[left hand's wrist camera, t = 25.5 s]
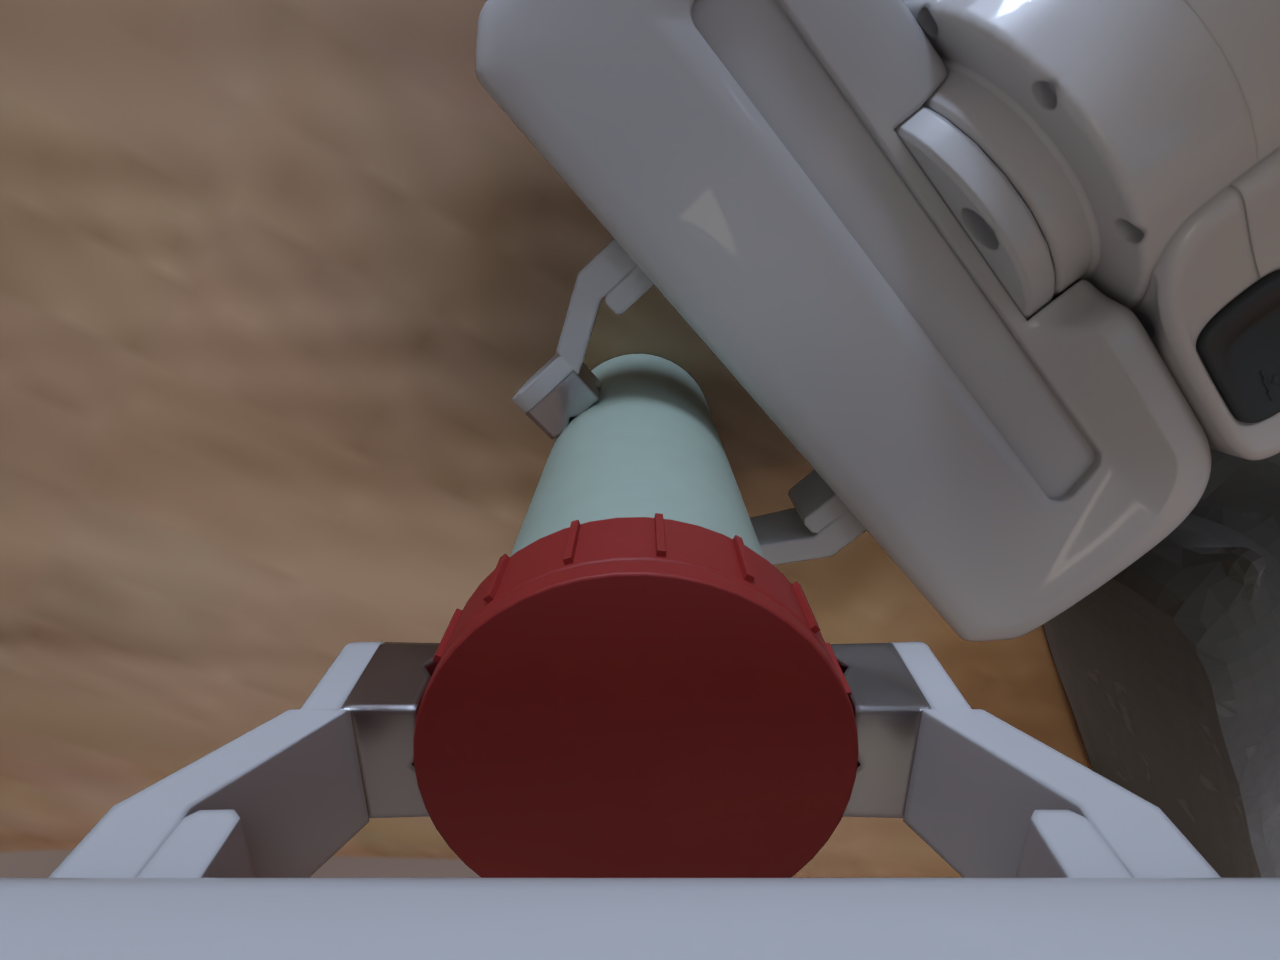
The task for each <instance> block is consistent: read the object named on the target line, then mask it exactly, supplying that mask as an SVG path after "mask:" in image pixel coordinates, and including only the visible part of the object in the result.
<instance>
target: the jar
mask: <svg viewBox="0 0 1280 960" xmlns="http://www.w3.org/2000/svg"><path fill="white" fill-rule="evenodd" d="M591 372H592V373H593V374H594V375H595V376H596V377H597V378H598V379H599V380H600V382H601V383H602V388H601V390H600V396H599V399H598V400H597V401H596V402H595V403H594V404H593V405H592V406H591V407H589V408H588V409H587V410H586V411H585V412H583V413H582V414H580V415H579V416H574V417H571V418H570V421H569V424H568V426H567V427H566V428H565V429H564V430H563V432H562V433H561V434H559V435H558V436H557V437H556V439H555V442H554V444H553V447H552V449H551V452H550V455H549V457H548V460H547V462H546V465H545V467H544V470H543V473H542V475H541V478H540V480H539V483H538V485H537V488H536V491H535V493H534V496H533V498H532V501H531V503H530V506H529V509H528V511H527V514H526V516H525V519H524V521H523V524H522V527H521V529H520V532H519V534H518V537H517V539H516V542H515V545H514V547H513V550H512V552H511V555H510V557H511V556H512V555H513V554H515V553H516V552H517V551H519V550H521V549H523V548H524V547H526V546H528V545H530V544H531V543H533V542H535V541H537V540H538V539H540V538H543V537H545V536H548V535H550V534H552V533H555V532H557V531H560V530H562V529H565V528H569V527H570V525H571V522H572V521H575V520H579V522H580V524H583V523H587V522H591V521H598V520H605V519H612V518H624V517H649V518H655V513H659V514H663V519H670V520H675V521H680V522H684V523H689V524H693V525H698V526H701V527H704V528H706V529H709V530H712V531H715V532H718V533H720V534H723V535H725V536H727V537H729V538H731V539H733V538H734V537H735V535H737V536H739V537H741V538H742V540H743V543H744V545H745V546H747V547H749V548H750V549H751V550H753V551H754V552H756V553H757V554H759V555H760V556H762V557H763V558H764V555H763V552H762V550H761V547H760V544H759V542H758V539H757V536H756V534H755V531H754V528H753V526H752V523H751V520H750V518H749V515H748V512H747V509H746V507H745V504H744V501H743V499H742V496H741V493H740V491H739V488H738V485H737V483H736V480H735V477H734V475H733V472H732V469H731V467H730V464H729V461H728V459H727V456H726V453H725V450H724V448H723V445H722V442H721V440H720V437H719V434H718V432H717V429H716V426H715V424H714V421H713V418H712V416H711V413H710V410H709V408H708V405H707V402H706V400H705V397H704V395H703V393H702V391H701V389H700V387H699V386H698V384H697V383H696V382H695V380H694V379H693V378H692V377H691V376H690V375H689V374H688V373H687V372H686V371H685V370H683V369H682V368H681V367H679V366H678V365H676V364H675V363H673V362H671V361H669V360H666V359H664V358H661V357H658V356H654V355H648V354H629V355H622V356H619V357H615V358H612V359H610V360H608V361H605V362H603V363H602V364H600V365H598V366H597V367H595V368H594V369H593V370H592V371H591Z"/></svg>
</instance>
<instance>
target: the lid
mask: <svg viewBox="0 0 1280 960" xmlns="http://www.w3.org/2000/svg"><path fill="white" fill-rule="evenodd" d="M432 660H433V661H435V662H437V663H438V664H437V666H436V668H435V670H434V673H433V675H432V677H431V679H430V681H429V683H428V685H427V688H426V690H425V692H424V695H423V698H422V701H421V704H420V707H419V710H418V713H417V718H416V725H415V731H414V737H413V751H414V767H415V773H416V778H417V784H418V788H419V791H420V794H421V797H422V799H423V802H424V805H425V808H426V810H427V812H428V814H429V816H430V818H431V820H432V821H433V823H434V825H435V827H436V829H437V830H438V832H439V833H440V835H441V836H442V837H443V839H444V840H445V841H446V843H447V844H448V846H449V847H450V848H451V849H452V850H453V851H454V852H455V854H456V855H457V856H458V857H459V858H460V859H461V860H462V861H463V862H464V863H465V864H466V865H467V866H468V867H469V868H471V869H472V870H473V871H474V872H475V873H477V874H478V875H479V876H480V877H481V878H791V877H792V876H794V875H795V874H796V873H797V872H798V871H799V870H800V869H802V868H803V867H804V866H805V865H806V864H807V863H808V862H809V861H810V860H811V859H812V858H813V857H814V856H815V855H816V854H817V853H818V851H819V850H820V849H821V848H822V847H823V845H824V844H825V843H826V842H827V841H828V839H829V838H830V836H831V835H832V833H833V831H834V830H835V828H836V827H837V825H838V824H839V822H840V820H841V818H842V816H843V814H844V811H845V809H846V807H847V805H848V802H849V800H850V797H851V793H852V790H853V786H854V782H855V779H856V773H857V764H858V754H859V749H858V732H857V725H856V721H855V717H854V712H853V708H852V704H851V702H850V699H849V693H851V690H850V688H849V685H848V683H847V681H846V679H845V677H844V674H843V672H842V670H841V668H840V666H839V663H838V661H837V659H836V657H835V654H834V652H833V650H832V648H831V646H830V643H825V642H824V639H823V637H822V635H821V633H820V628H819V626H818V624H817V621H816V619H815V617H814V615H813V612H812V610H811V608H810V606H809V603H808V601H807V599H806V597H805V594H804V592H803V590H802V588H801V586H800V585H799V583H798V582H795V583H794V584H791V583H790V582H789V580H788V579H787V578H786V577H785V576H784V575H783V574H782V573H781V572H780V571H779V570H777V569H776V568H775V567H774V566H773V565H772V564H771V563H770V562H769V561H767V560H766V559H765V558H763V557H762V556H760V555H759V554H757V553H756V552H754V551H753V550H751V549H750V548H749V547H747V546H745V545H744V543H743V540H742V538H741V537H739V536H737V535H735V537H734V538H733V539H731V538H729V537H727V536H725V535H723V534H720V533H718V532H715V531H712V530H709V529H706V528H704V527H701V526H698V525H693V524H689V523H684V522H680V521H675V520H670V519H663V514H659V513H655V518H649V517H624V518H612V519H605V520H598V521H591V522H587V523H583V524H580V522H579V520H575V521H572V522H571V525H570V527H569V528H565V529H562V530H560V531H557V532H555V533H552V534H550V535H548V536H545V537H543V538H540V539H538V540H537V541H535V542H533V543H531V544H530V545H528V546H526V547H524V548H523V549H521V550H519V551H517V552H516V553H515V554H513V555H512V556H511V557H508V556H507V555H506V554H504V555H503V556H502V557H500V559H499V562H498V564H497V567H496V569H495V570H494V571H493V572H492V573H491V574H490V575H489V576H488V577H487V578H486V579H485V580H484V581H483V582H482V583H481V584H480V585H479V587H478V588H477V589H476V591H475V592H474V593H473V595H472V596H471V598H470V599H469V600H468V602H467V603H466V605H465V607H464V609H463V611H462V610H460V609H456V611H455V613H454V615H453V617H452V619H451V621H450V623H449V626H448V628H447V630H446V632H445V634H444V636H443V638H442V640H441V642H440V645H439V647H438V649H437V651H436V653H435V655H434V657H433V659H432Z"/></svg>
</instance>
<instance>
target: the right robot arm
mask: <svg viewBox="0 0 1280 960" xmlns="http://www.w3.org/2000/svg"><path fill="white" fill-rule="evenodd" d="M475 72H476V76H477V79H478V81H479V82H480V84H481V85H482V86H483V87H484V88H485V90H486V91H487V92H488V93H489V94H490V95H491V97H492V98H493V99H494V100H495V101H496V102H497V104H498V105H499V106H500V107H501V108H502V109H503V111H504V112H505V113H506V114H507V115H508V116H509V117H510V119H511V120H512V121H513V122H514V123H515V124H516V126H517V127H518V128H519V129H520V130H521V131H522V132H523V134H524V135H525V136H526V137H527V138H528V139H529V141H530V142H531V143H532V144H533V145H534V146H535V147H536V149H537V150H538V151H539V152H540V153H541V154H542V156H543V157H544V158H545V159H546V160H547V161H548V162H549V164H550V165H551V166H552V167H553V168H554V169H555V171H556V172H557V173H558V174H559V175H560V176H561V178H562V179H563V180H564V181H565V182H566V183H567V184H568V186H569V187H570V188H571V189H572V190H573V191H574V193H575V194H576V195H577V196H578V197H579V198H580V199H581V201H582V202H583V203H584V204H585V205H586V206H587V208H588V209H589V210H590V211H591V212H592V213H593V214H594V216H595V217H596V218H597V219H598V220H599V221H600V223H601V224H602V225H603V226H604V227H605V228H606V229H607V231H608V232H609V233H610V234H611V235H612V236H613V238H614V239H613V240H612V241H611V242H610V243H609V244H608V245H607V246H606V247H605V248H604V249H603V250H602V251H601V252H600V253H599V254H598V255H597V256H596V257H595V258H594V259H593V260H592V261H591V262H589V263H588V264H587V265H586V266H585V267H584V268H583V269H582V270H581V271H580V272H579V273H578V275H577V279H576V282H575V286H574V290H573V293H572V297H571V300H570V304H569V307H568V311H567V314H566V318H565V322H564V325H563V329H562V332H561V336H560V339H559V343H558V346H557V350H556V352H557V353H556V354H555V355H554V356H553V357H552V358H551V359H550V360H549V361H548V362H547V363H546V364H544V365H543V366H542V367H541V368H540V369H539V370H538V371H537V372H536V373H535V374H534V375H533V376H532V377H531V378H530V379H529V380H528V381H527V382H526V383H525V384H524V385H523V386H522V387H521V388H520V389H519V390H518V392H517V393H516V394H515V396H514V397H513V398H512V401H513V402H514V403H515V404H516V405H517V406H518V407H519V408H520V410H521V411H522V412H523V413H525V414H526V415H527V416H528V417H529V418H530V419H531V420H532V421H533V422H534V423H535V424H536V425H537V426H538V427H539V428H540V429H542V430H543V431H544V432H545V433H546V434H547V435H548V436H549V437H550V438H551V439H554V438H555V437H557V436H558V435H559V434H561V433H562V432H563V430H564V429H565V428H566V427H567V426H568V424H569V421H570V418H571V417H574V416H579V415H580V414H582V413H583V412H585V411H586V410H587V409H588V408H589V407H591V406H592V405H593V404H594V403H595V402H596V401H597V400H598V399H599V396H600V390H601V388H602V383H601V382H600V380H599V379H598V378H597V377H596V376H595V375H594V374H593V373H592V372H591V370H590V369H589V368H588V367H587V366H586V365H585V364H584V363H583V361H584V357H585V354H586V351H587V347H588V344H589V341H590V338H591V334H592V331H593V328H594V324H595V321H596V318H597V315H598V311H599V308H600V305H601V301H602V298H603V297H604V296H605V303H606V304H607V305H608V306H609V307H610V309H611V310H612V311H613V312H614V313H615V314H622V313H623V312H625V311H626V310H627V309H628V308H629V307H630V306H631V305H632V304H633V303H635V302H636V301H637V300H638V299H639V298H640V297H641V296H642V295H643V294H645V293H646V292H647V291H648V290H649V289H650V288H651V287H652V286H653V285H655V286H656V287H657V288H658V289H659V291H660V292H661V293H662V294H663V295H664V296H665V298H666V299H667V300H668V301H669V302H670V303H671V304H672V306H673V307H674V308H675V309H676V310H677V311H678V313H679V314H680V315H681V316H682V317H683V318H684V320H685V321H686V322H687V323H688V324H689V325H690V326H691V328H692V329H693V330H694V331H695V332H696V333H697V335H698V336H699V337H700V338H701V339H702V340H703V341H704V343H705V344H706V345H707V346H708V347H709V348H710V350H711V351H712V352H713V353H714V354H715V355H716V356H717V358H718V359H719V360H720V361H721V362H722V363H723V365H724V366H725V367H726V368H727V369H728V370H729V371H730V373H731V374H732V375H733V376H734V377H735V378H736V380H737V381H738V382H739V383H740V384H741V385H742V386H743V388H744V389H745V390H746V391H747V392H748V393H749V395H750V396H751V397H752V398H753V399H754V400H755V401H756V403H757V404H758V405H759V406H760V407H761V408H762V410H763V411H764V412H765V413H766V414H767V415H768V416H769V418H770V419H771V420H772V421H773V422H774V423H775V425H776V426H777V427H778V428H779V429H780V430H781V431H782V433H783V434H784V435H785V436H786V437H787V438H788V440H789V441H790V442H791V443H792V444H793V445H794V446H795V448H796V449H797V450H798V451H799V452H800V453H801V455H802V456H803V457H804V458H805V459H806V460H807V462H808V463H809V464H810V465H811V466H812V467H813V468H814V470H813V471H812V472H811V473H810V474H808V475H807V476H806V477H805V478H804V479H802V480H801V481H800V482H799V483H797V484H796V485H795V486H794V487H792V488H791V489H790V490H789V493H788V496H789V497H790V499H791V501H792V503H793V505H794V506H795V508H792V509H787V510H783V511H779V512H774V513H770V514H765V515H761V516H757V517H752V518H750V520H751V523H752V526H753V528H754V531H755V534H756V536H757V539H758V542H759V544H760V547H761V550H762V552H763V555H764V558H765V559H766V560H767V561H769V562H770V563H771V564H772V565H778V564H784V563H791V562H797V561H804V560H810V559H817V558H823V557H830V556H832V555H834V554H835V553H836V552H838V551H839V550H840V549H842V548H843V547H845V546H846V545H847V544H849V543H850V542H851V541H853V540H854V539H855V538H857V537H858V536H859V535H861V534H862V533H863V532H865V531H866V530H867V531H868V532H869V533H870V534H871V535H872V537H873V538H874V539H875V540H876V541H877V542H878V543H879V545H880V546H881V547H882V548H883V549H884V550H885V552H886V553H887V554H888V555H889V556H890V557H891V558H892V560H893V561H894V562H895V563H896V564H897V565H898V567H899V568H900V569H901V570H902V571H903V572H904V573H905V575H906V576H907V577H908V578H909V579H910V580H911V582H912V583H913V584H914V585H915V586H916V587H917V588H918V590H919V591H920V592H921V593H922V594H923V595H924V597H925V598H926V599H927V600H928V601H929V602H930V604H931V605H932V606H933V607H934V608H935V609H936V610H937V612H938V613H939V614H940V615H941V616H942V617H943V618H944V620H945V621H946V622H947V623H948V624H949V625H950V627H951V628H952V629H953V630H954V631H955V632H956V633H957V635H958V636H959V637H961V638H962V639H964V640H966V641H993V640H1006V639H1013V638H1017V637H1020V636H1022V635H1025V634H1027V633H1029V632H1031V631H1032V630H1034V629H1036V628H1038V627H1040V626H1042V625H1043V624H1045V623H1046V622H1048V621H1049V620H1051V619H1053V618H1054V617H1056V616H1057V615H1059V614H1060V613H1062V612H1064V611H1065V610H1067V609H1068V608H1070V607H1071V606H1073V605H1074V604H1076V603H1077V602H1079V601H1080V600H1082V599H1083V598H1085V597H1086V596H1088V595H1089V594H1091V593H1092V592H1094V591H1095V590H1096V589H1098V588H1099V587H1101V586H1102V585H1104V584H1105V583H1106V582H1108V581H1109V580H1110V579H1112V578H1113V577H1115V576H1116V575H1117V574H1119V573H1120V572H1122V571H1123V570H1124V569H1126V568H1127V567H1128V566H1130V565H1131V564H1132V563H1134V562H1135V561H1136V560H1138V559H1139V558H1140V557H1142V556H1143V555H1144V554H1146V553H1147V552H1148V551H1149V550H1151V549H1152V548H1153V547H1155V546H1156V545H1157V544H1158V543H1160V542H1161V541H1162V540H1163V539H1164V538H1166V537H1167V536H1168V535H1169V534H1170V533H1171V532H1172V531H1174V530H1175V529H1176V528H1177V527H1178V526H1179V525H1180V524H1181V523H1182V522H1183V521H1184V520H1185V519H1186V517H1187V516H1188V515H1189V514H1190V513H1191V511H1192V510H1193V509H1194V508H1195V506H1196V505H1197V503H1198V502H1199V500H1200V498H1201V497H1202V495H1203V493H1204V491H1205V489H1206V486H1207V484H1208V481H1209V478H1210V472H1211V464H1212V458H1211V450H1210V449H1212V450H1216V451H1219V452H1222V453H1226V454H1229V455H1232V456H1236V457H1239V458H1243V459H1247V460H1262V459H1266V458H1269V457H1271V456H1274V455H1276V454H1278V453H1280V0H487V2H486V3H485V4H484V6H483V8H482V10H481V13H480V16H479V20H478V29H477V40H476V62H475Z"/></svg>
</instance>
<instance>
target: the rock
mask: <svg viewBox="0 0 1280 960" xmlns="http://www.w3.org/2000/svg"><path fill="white" fill-rule="evenodd" d="M1210 450H1211V458H1212V464H1211V472H1210V478H1209V481H1208V484H1207V486H1206V489H1205V491H1204V493H1203V495H1202V497H1201V498H1200V500H1199V502H1198V503H1197V505H1196V506H1195V508H1194V509H1193V510H1192V511H1191V513H1190V514H1189V515H1188V516H1187V517H1186V519H1185V520H1184V521H1183V522H1182V523H1181V524H1180V525H1179V526H1178V527H1177V528H1176V529H1175V530H1174V531H1172V532H1171V533H1170V534H1169V535H1168V536H1167V537H1166V538H1164V539H1163V540H1162V541H1161V542H1160V543H1158V544H1157V545H1156V546H1155V547H1153V548H1152V549H1151V550H1149V551H1148V552H1147V553H1146V554H1144V555H1143V556H1142V557H1140V558H1139V559H1138V560H1136V561H1135V562H1134V563H1132V564H1131V565H1130V566H1128V567H1127V568H1126V569H1124V570H1123V571H1122V572H1120V573H1119V574H1117V575H1116V576H1115V577H1113V578H1112V579H1110V580H1109V581H1108V582H1106V583H1105V584H1104V585H1102V586H1101V587H1099V588H1098V589H1096V590H1095V591H1094V592H1092V593H1091V594H1089V595H1088V596H1086V597H1085V598H1083V599H1082V600H1080V601H1079V602H1077V603H1076V604H1074V605H1073V606H1071V607H1070V608H1068V609H1067V610H1065V611H1064V612H1062V613H1060V614H1059V615H1057V616H1056V617H1054V618H1053V619H1051V620H1049V621H1048V622H1046V623H1045V624H1043V626H1044V630H1045V633H1046V637H1047V640H1048V643H1049V647H1050V650H1051V653H1052V656H1053V659H1054V662H1055V665H1056V668H1057V670H1058V673H1059V676H1060V678H1061V681H1062V684H1063V686H1064V689H1065V691H1066V694H1067V697H1068V699H1069V702H1070V705H1071V707H1072V710H1073V713H1074V716H1075V719H1076V722H1077V725H1078V728H1079V731H1080V734H1081V737H1082V740H1083V742H1084V745H1085V748H1086V751H1087V754H1088V757H1089V760H1090V763H1091V766H1092V768H1093V771H1094V772H1096V773H1098V774H1099V775H1101V776H1103V777H1105V778H1107V779H1108V780H1110V781H1112V782H1114V783H1116V784H1117V785H1119V786H1121V787H1123V788H1125V789H1126V790H1128V791H1130V792H1132V793H1134V794H1135V795H1137V796H1139V797H1141V798H1143V799H1144V800H1146V801H1148V802H1150V803H1152V804H1153V805H1155V806H1157V807H1159V808H1160V809H1161V810H1162V811H1163V813H1164V814H1165V815H1166V816H1167V817H1168V818H1169V819H1170V820H1171V822H1172V823H1173V824H1174V825H1175V826H1176V827H1177V828H1178V829H1179V831H1180V832H1181V833H1182V834H1183V835H1184V836H1185V837H1186V839H1187V840H1188V841H1189V842H1190V843H1191V844H1192V845H1193V846H1194V848H1195V849H1196V850H1197V851H1198V852H1199V853H1200V854H1201V855H1202V857H1203V858H1204V859H1205V860H1206V861H1207V862H1208V863H1209V864H1210V866H1211V867H1212V868H1213V869H1214V870H1215V871H1216V872H1217V873H1218V875H1219V876H1220V877H1221V878H1280V453H1278V454H1276V455H1274V456H1271V457H1269V458H1266V459H1262V460H1247V459H1243V458H1239V457H1236V456H1232V455H1229V454H1226V453H1222V452H1219V451H1216V450H1212V449H1210Z"/></svg>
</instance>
